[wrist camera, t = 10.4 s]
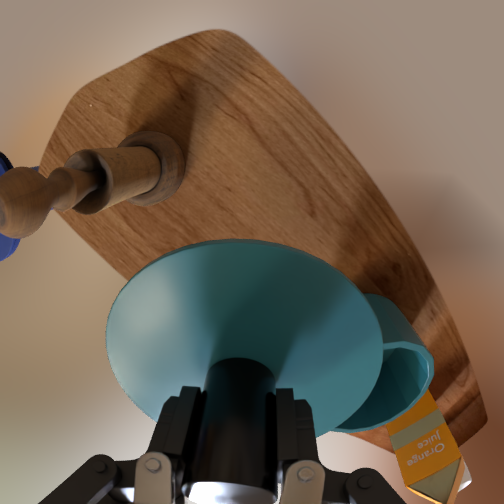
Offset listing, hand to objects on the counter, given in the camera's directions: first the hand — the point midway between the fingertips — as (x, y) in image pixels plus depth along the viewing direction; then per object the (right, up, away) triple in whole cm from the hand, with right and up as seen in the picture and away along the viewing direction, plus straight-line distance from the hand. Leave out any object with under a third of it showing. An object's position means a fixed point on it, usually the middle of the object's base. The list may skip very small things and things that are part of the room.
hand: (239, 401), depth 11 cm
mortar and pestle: (-9, +14, +14) cm, 21 cm away
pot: (+12, -4, +19) cm, 23 cm away
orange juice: (+25, -17, +24) cm, 38 cm away
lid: (0, +1, +2) cm, 2 cm away
